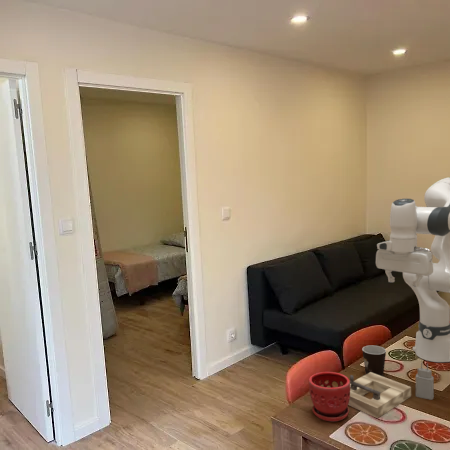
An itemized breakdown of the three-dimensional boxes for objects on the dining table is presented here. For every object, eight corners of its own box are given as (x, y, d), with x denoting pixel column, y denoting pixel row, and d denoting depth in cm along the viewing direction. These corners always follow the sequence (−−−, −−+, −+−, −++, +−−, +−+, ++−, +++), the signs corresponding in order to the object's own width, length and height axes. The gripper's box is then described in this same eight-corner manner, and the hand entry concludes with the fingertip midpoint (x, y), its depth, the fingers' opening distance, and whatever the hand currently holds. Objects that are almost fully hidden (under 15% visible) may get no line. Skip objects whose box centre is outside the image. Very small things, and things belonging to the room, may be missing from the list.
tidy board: (370, 380, 168) (370, 360, 167) (410, 396, 155) (410, 374, 154) (336, 399, 156) (336, 377, 155) (377, 418, 143) (377, 394, 142)
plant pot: (359, 413, 147) (358, 378, 145) (333, 429, 138) (332, 393, 137) (326, 399, 157) (325, 366, 155) (301, 413, 149) (300, 379, 147)
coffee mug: (387, 380, 168) (387, 354, 167) (363, 379, 170) (363, 354, 168) (383, 366, 179) (383, 342, 178) (361, 366, 181) (360, 342, 180)
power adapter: (417, 392, 158) (416, 359, 156) (433, 396, 155) (433, 362, 154) (415, 396, 155) (415, 363, 154) (432, 400, 152) (432, 366, 151)
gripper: (437, 247, 151) (436, 287, 152) (383, 241, 167) (383, 278, 168) (427, 250, 147) (427, 291, 149) (373, 244, 163) (373, 281, 165)
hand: (403, 284), depth 159 cm, fingers open, 8 cm apart
